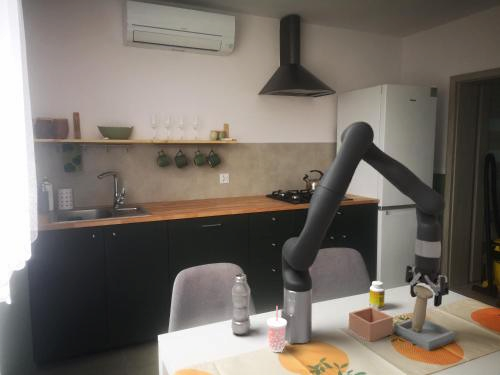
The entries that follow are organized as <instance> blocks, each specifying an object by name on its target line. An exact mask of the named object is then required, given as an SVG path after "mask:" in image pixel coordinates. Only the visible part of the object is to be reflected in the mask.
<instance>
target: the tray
mask: <svg viewBox="0 0 500 375" xmlns="http://www.w3.org/2000/svg"><path fill="white" fill-rule="evenodd" d="M393 327H394V328H393V329H394V331H393V332H394V333H393V334H395V335H397V336H399V337H401V338H403V339H404V340H407V341H408V342H411V343H412V344H413V345H414V344H415V345H416V346H418V347H420V348H421V349H423V350H426V351H427V352H429V351H432V350H435V349H437V348H441V347H443V346H445V345H448V344H449V343H453V342H455V340H456V338H455V336H456V332H455V331H454V330H452V329H450V328H447V327H444V326H443V325H440V324H439V323H436V322H434V321H431V320H429V319H427V318H425V322H424V326H423V328H422V332H416V331H413V330H412V318H411V319H408V320H405V321H401V322H398V323H395V324H393Z"/></svg>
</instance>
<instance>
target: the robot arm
mask: <svg viewBox="0 0 500 375" xmlns="http://www.w3.org/2000/svg"><path fill="white" fill-rule="evenodd" d="M374 138H375V133H374V129H373V127H372V125H370V124H369V123H368V122H366V121H362V120H361V121H356V122H353V123H351V124H350V125H348V126H347V127H346V128H345V129H344V130H343V131H342V133H341V135H340V143H341V144H340V148H339V149H338V151H337V154H336V156H335V157H334V159H333V161H332V163H331V164H330V165H329V167H327V170H325V172H324V174H323V175H322V176H321V178H320V180H319V182H318V184H317V185H316V188H315V189H314V191H313V194H312V196H311V198H310V201H309V205H308V206H309V207H308V210H307V217H306V220H305V224H304V226H303V229H302V231H301V232H300V234H299V236H295V237H293V236H292V237H291V238H288V239H287V240H286V241H285V242H284V244H283V246H282V248H281V249H282V250H281V271H282V273H281V274H282V280H283V308H281V309H280V310H281V311H280V313H281V314H280V315H281V316H280V318H283V319H285V320H286V321H287V326H286V330H285V341H287V343H289V344H290V343H291V344H290V345H293V343H303V344H306V343H307V344H308V343H309V342H310V341H311V340H312V333H313V332H312V329H313V328H312V325H313V324H312V321H313V319H312V318H313V317H312V316H313V315H312V314H313V312H312V311H313V308H312V307H313V279H312V276H311V273H310V268H311V267H312V266H313V265H314V263H315V261H316V260H317V256H318V254H319V251H320V248H321V245H322V242H323V240H324V238H325V236H326V233H327V232H328V229H330V225H331V224H332V222H333V220H334V218H335V216H336V214H337V212H338V210H339V209H340V206H341V204H342V203H343V200H344V198H345V196H346V193H347V192H348V189H349V188H350V184H351V183H352V180H353V177H354V176H355V173H356V170H357V168H358V167H359V165H360V162H361V161H363V162H365V163H366V164H368V165H369V166H370V167H371V168H373V169H374V170H375V171H376V172H377V173H379V174H380V176H382V177H383V178H384V179H386V180H387V181H388V182H389V183H390V184H391V185H392V186H394V187H395V189H397V190H398V191H399V192H400V193H401V194H403V195H404V196H405V197H407V198H409V199H410V200H411V201H412V202H413V203H415V215H416V217H415V218H416V222H417V224H416V225H417V227H416V240H415V248H414V264H410V265H406V269H405V279H404V280H405V283H408V284H409V286H410V288H409V289H410V291H409V294H410V296H411V298H417V295H416V294H415V292H414V290H413V289H414V286H416V285H419V283H421V284H425V285H427V286H429V287H430V288H429V289H430V290H432V292H433V306H434V307H436V308H437V307H440V306H441V305H442V302H443V299H442V298H443V297H444V296H447V295H450V293H449V290H450V287H449V286H450V285H449V283H450V282H449V281H450V280H449V279H450V278H449V276H448V275H440V268H441V258H442V257H441V253H442V246H441V245H442V244H441V240H442V239H441V238H442V237H441V236H442V227H441V224H440V222H439V215H441V214H442V213H443V212H444V211H445V208H446V201H445V199H444V197H443V196H442V195H441V194H440V193H439V192H438V191H436V190H435V189H433V188H431V186H429V185H428V184H426V183H425V182H423V180H421V178H420V177H419V176H418V175H417V174H415V173H414V172H413V171H412V170H411V169H409V168H408V167H407V166H406V165H404V163H402V162H400V161H398V160H397V159H395V158H394V157H392V156H390V155H388V154H387V153H385V152H384V151H383V150H381V148H379V147H378V146H377V145H376V144H375V143H374ZM414 274H415V276H414Z"/></svg>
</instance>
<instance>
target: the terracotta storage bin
mask: <svg viewBox="0 0 500 375" xmlns="http://www.w3.org/2000/svg"><path fill="white" fill-rule="evenodd" d="M393 327H394V316H392V315H390V314H388V313H385V312H383V311H382V310H377V309H375V308H373V307H370V306H369V307H365V308H361V309H358V310H354V311H351V312H349V313H348V330H349V329H350V330H351V332H352V331H353V332H352V333H354V334H355V333H356V334H355V335H357V334H358V335H357V336H359V337H360V336H361V338H362V337H363V338H362V339H364V338H365V339H366V341H367V342H368V343H371V342H374V341H377V340H380V339H383V338H385V336H386V337H388V335H389V336H391V335H393V334H394V333H393V332H394V331H393V329H394V328H393ZM350 330H349V331H350ZM382 337H383V338H382ZM365 339H364V340H365ZM373 340H374V341H373ZM370 341H371V342H370Z"/></svg>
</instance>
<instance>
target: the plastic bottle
mask: <svg viewBox="0 0 500 375" xmlns="http://www.w3.org/2000/svg"><path fill="white" fill-rule="evenodd" d="M234 281H235V283H234V284H233V286H232V289H231V297H232V298H231V299H232V308H233V309H232V310H233V311H232V319H231V329H232V332H233V333H234V334H235V335H246V334H248V333H249V332H250V330H251V326H252V325H251V319H250V310H249V309H250V308H249V306H250V296H251V288H250V285H249V284H248V283H247V275H246V274H245V273H238V274H236V275H235V279H234Z"/></svg>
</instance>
